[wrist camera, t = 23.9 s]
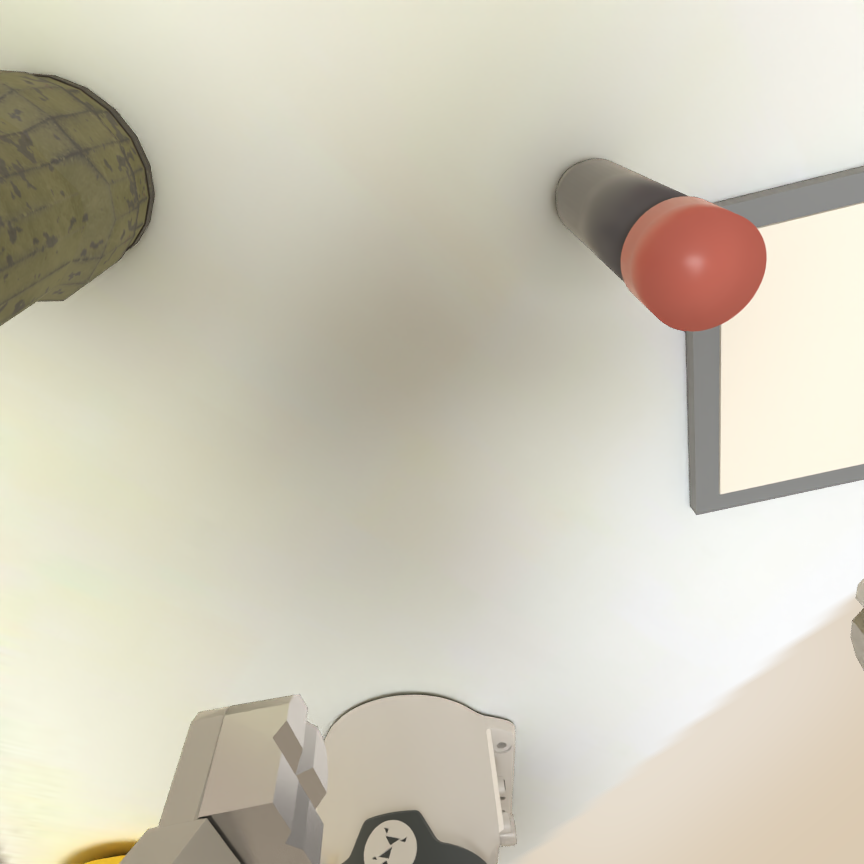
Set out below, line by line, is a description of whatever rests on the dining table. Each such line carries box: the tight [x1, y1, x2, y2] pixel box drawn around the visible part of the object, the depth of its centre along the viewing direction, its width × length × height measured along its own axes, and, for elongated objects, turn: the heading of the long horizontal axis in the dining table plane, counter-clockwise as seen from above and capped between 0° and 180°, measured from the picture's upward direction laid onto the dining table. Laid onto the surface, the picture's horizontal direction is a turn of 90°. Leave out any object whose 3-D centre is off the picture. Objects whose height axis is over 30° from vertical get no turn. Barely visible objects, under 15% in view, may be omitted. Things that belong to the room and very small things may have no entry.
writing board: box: [686, 166, 864, 515], centre depth 37 cm, size 20×16×1 cm
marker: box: [556, 158, 767, 331], centre depth 26 cm, size 4×4×14 cm
